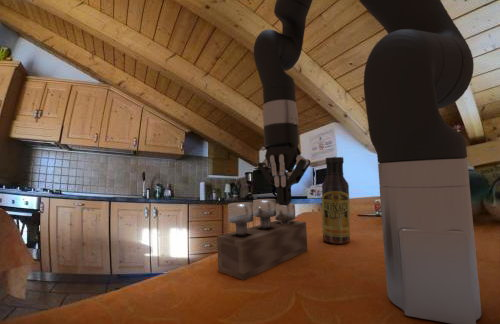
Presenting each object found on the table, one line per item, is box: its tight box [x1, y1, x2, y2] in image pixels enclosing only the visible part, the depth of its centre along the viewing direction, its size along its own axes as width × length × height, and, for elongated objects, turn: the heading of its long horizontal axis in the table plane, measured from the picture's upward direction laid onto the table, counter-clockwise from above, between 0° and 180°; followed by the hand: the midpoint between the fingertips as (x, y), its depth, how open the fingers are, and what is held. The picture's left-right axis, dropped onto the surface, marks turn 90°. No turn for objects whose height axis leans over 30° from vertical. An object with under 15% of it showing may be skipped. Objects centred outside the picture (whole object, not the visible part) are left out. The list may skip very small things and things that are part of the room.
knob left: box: [227, 201, 254, 238], centre depth 44 cm, size 4×4×7 cm
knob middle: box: [252, 198, 277, 231], centre depth 49 cm, size 4×4×7 cm
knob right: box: [274, 202, 297, 225], centre depth 54 cm, size 4×4×7 cm
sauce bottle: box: [321, 156, 351, 245], centre depth 59 cm, size 6×6×20 cm
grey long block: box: [216, 220, 308, 281], centre depth 49 cm, size 19×6×6 cm, turn 136°
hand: (284, 204), depth 54 cm, fingers closed
